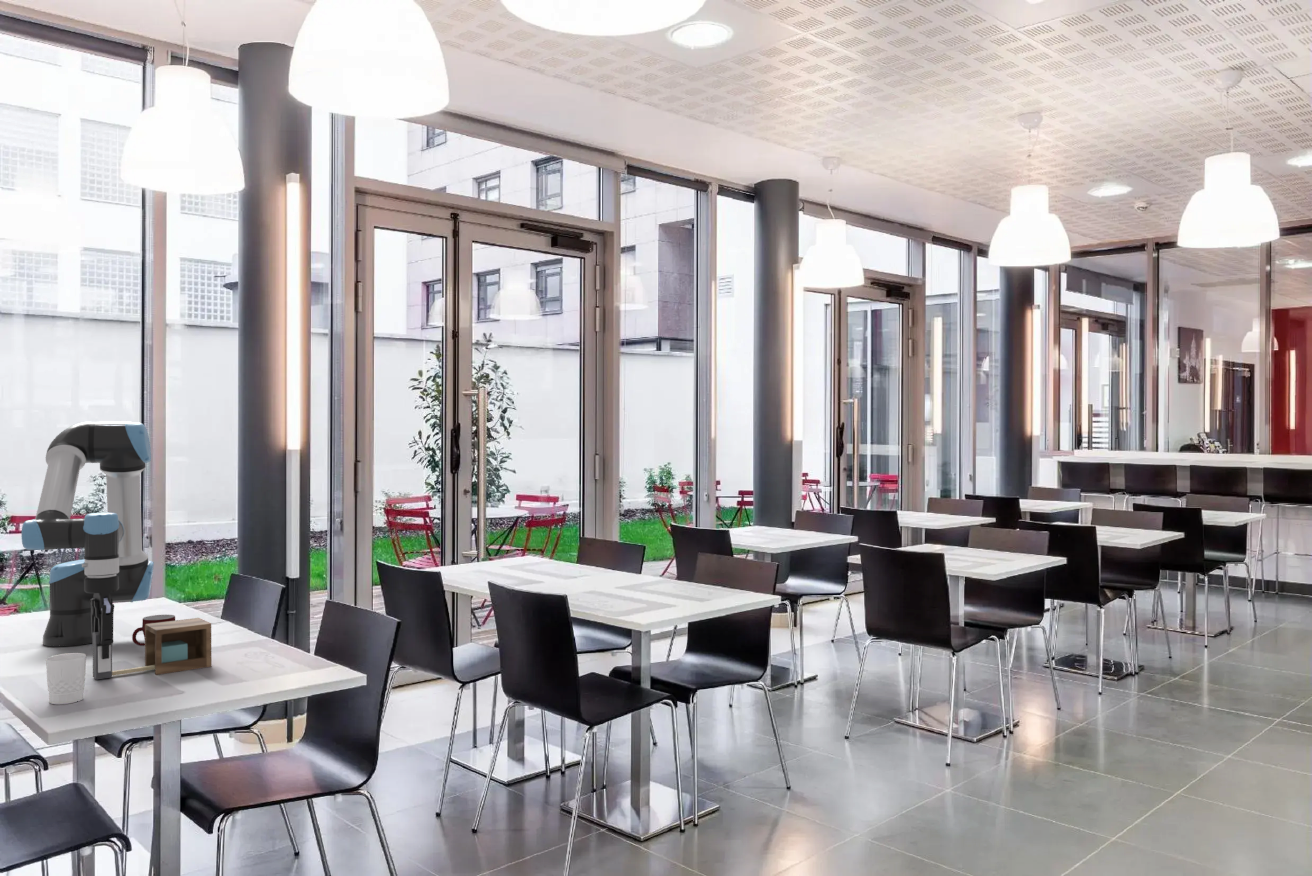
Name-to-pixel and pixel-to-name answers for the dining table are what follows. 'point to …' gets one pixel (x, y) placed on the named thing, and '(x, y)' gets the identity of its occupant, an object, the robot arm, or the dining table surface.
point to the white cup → (66, 677)
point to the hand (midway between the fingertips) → (102, 669)
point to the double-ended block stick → (169, 654)
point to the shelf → (185, 630)
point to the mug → (147, 621)
